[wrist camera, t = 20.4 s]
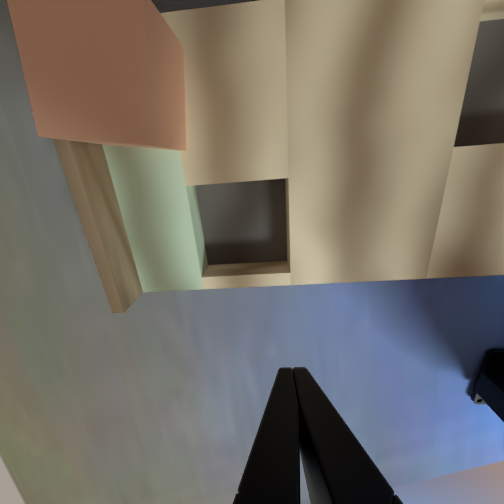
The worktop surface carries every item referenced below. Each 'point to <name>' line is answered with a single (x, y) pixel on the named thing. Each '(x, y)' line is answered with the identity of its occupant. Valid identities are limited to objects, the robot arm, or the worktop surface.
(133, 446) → the worktop surface
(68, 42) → the block
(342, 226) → the board
